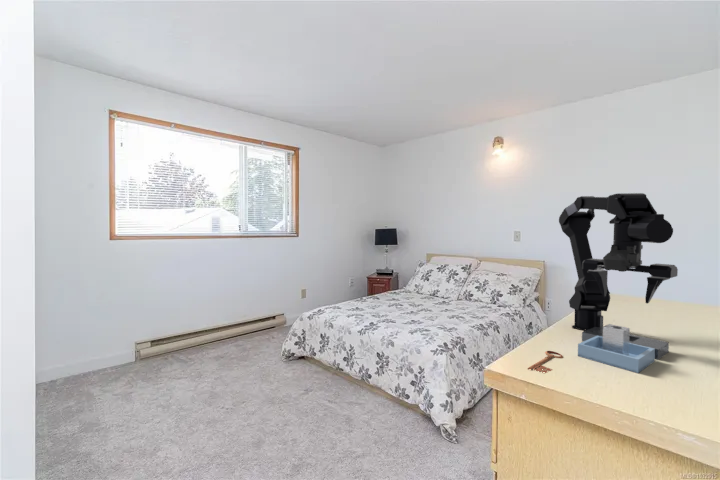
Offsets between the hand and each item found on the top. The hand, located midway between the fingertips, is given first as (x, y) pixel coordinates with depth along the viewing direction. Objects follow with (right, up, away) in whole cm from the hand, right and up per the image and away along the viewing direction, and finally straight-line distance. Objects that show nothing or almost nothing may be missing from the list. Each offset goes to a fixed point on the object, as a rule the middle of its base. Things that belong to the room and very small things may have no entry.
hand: (624, 299), depth 85 cm
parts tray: (-9, -13, -8) cm, 17 cm away
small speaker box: (-9, -12, -8) cm, 17 cm away
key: (-26, -13, -10) cm, 31 cm away
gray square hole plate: (0, -13, +1) cm, 13 cm away
